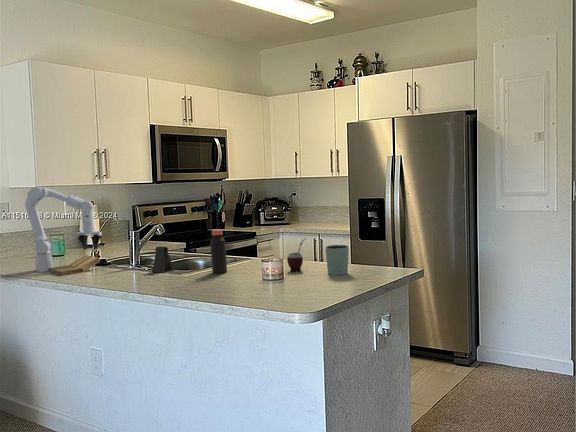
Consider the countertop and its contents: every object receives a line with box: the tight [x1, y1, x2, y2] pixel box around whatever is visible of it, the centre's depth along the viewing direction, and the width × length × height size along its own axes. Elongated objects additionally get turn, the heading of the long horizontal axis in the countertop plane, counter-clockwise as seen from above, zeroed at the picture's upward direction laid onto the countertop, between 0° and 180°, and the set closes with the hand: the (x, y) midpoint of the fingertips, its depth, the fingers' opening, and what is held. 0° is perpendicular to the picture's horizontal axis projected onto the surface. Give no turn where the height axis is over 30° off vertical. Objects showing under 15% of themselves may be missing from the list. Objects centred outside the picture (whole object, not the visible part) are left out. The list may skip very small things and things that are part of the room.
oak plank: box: [67, 254, 101, 273], centre depth 296 cm, size 18×10×2 cm, turn 43°
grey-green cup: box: [325, 244, 350, 277], centre depth 246 cm, size 10×10×12 cm
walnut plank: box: [47, 264, 83, 277], centre depth 289 cm, size 18×10×2 cm, turn 43°
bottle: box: [210, 228, 228, 275], centre depth 265 cm, size 7×7×20 cm
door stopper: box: [151, 245, 175, 274], centre depth 278 cm, size 9×6×12 cm, turn 139°
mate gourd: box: [287, 237, 307, 273], centre depth 258 cm, size 8×8×15 cm
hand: (90, 249), depth 302 cm, fingers open, 6 cm apart
